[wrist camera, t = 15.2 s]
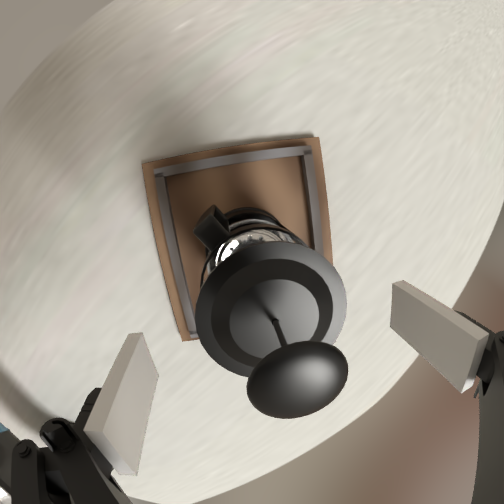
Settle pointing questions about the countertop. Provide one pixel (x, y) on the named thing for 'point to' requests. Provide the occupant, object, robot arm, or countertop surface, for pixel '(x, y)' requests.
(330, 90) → the countertop surface
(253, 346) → the french press
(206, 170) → the serving board
